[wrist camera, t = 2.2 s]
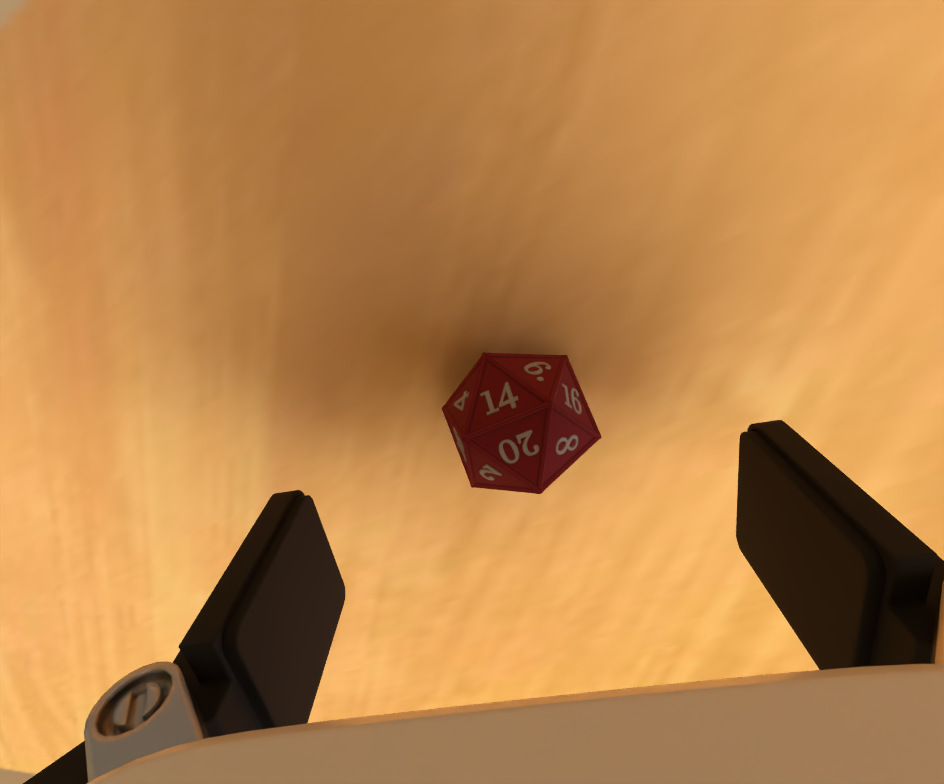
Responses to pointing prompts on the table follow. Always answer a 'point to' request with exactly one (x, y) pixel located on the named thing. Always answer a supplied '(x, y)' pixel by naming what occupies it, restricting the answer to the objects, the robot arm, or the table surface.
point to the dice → (519, 421)
